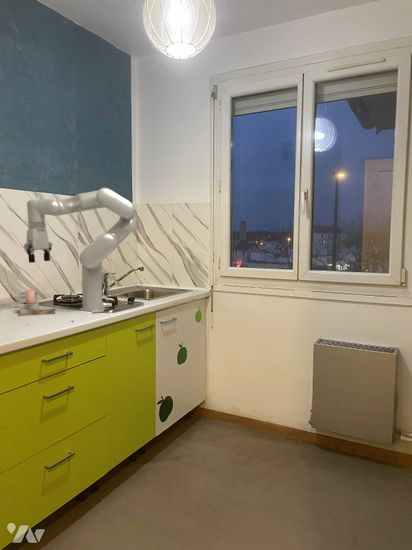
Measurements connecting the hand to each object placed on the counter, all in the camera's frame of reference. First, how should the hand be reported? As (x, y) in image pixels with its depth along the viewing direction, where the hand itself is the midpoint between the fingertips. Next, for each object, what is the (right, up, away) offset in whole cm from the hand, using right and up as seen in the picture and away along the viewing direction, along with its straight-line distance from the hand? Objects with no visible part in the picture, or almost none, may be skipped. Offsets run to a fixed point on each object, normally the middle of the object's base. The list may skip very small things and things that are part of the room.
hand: (39, 261), depth 199 cm
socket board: (+1, -25, -4) cm, 26 cm away
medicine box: (-10, -24, +11) cm, 28 cm away
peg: (-4, -24, -2) cm, 24 cm away
